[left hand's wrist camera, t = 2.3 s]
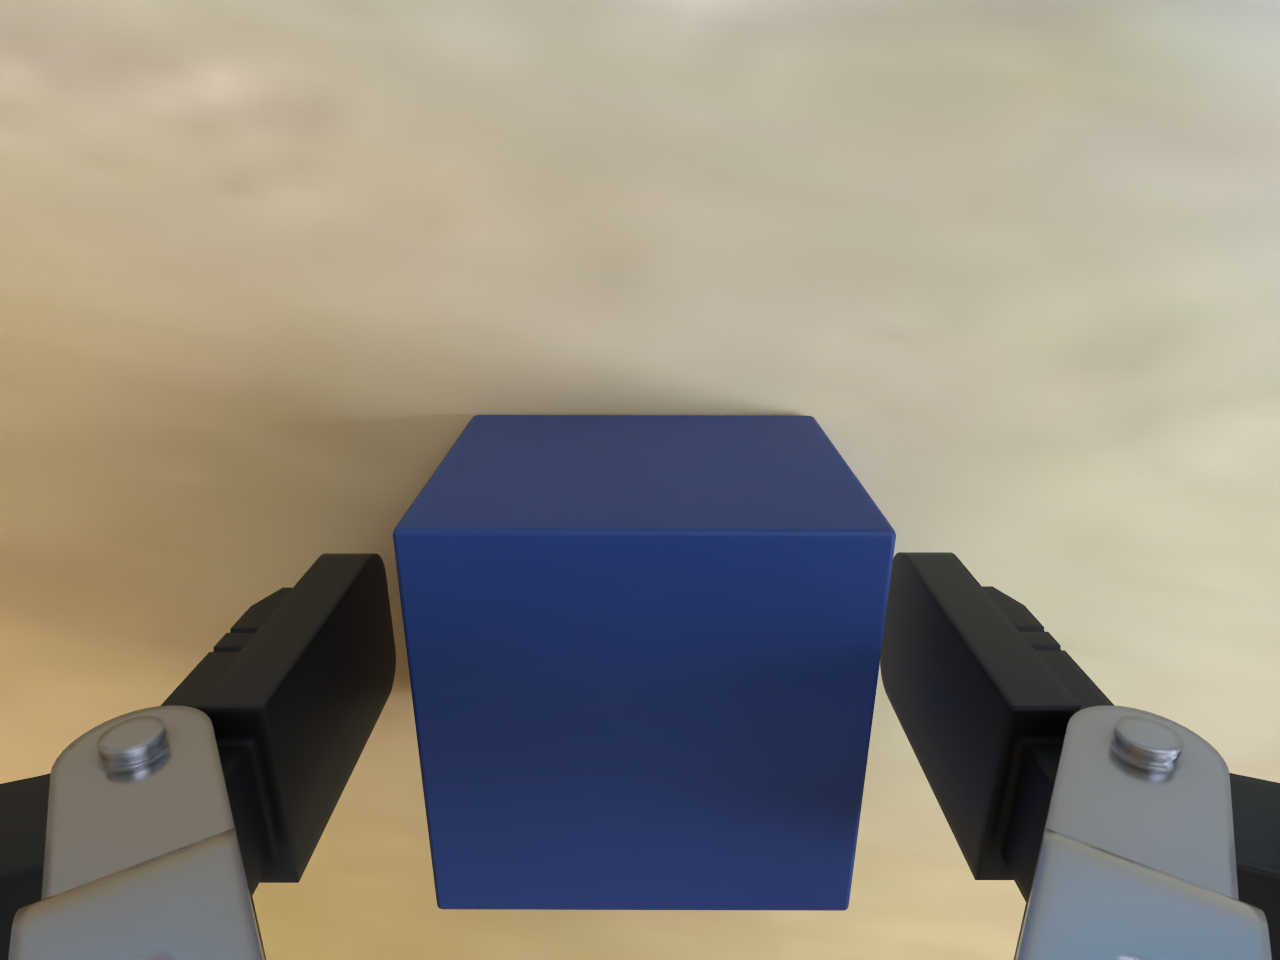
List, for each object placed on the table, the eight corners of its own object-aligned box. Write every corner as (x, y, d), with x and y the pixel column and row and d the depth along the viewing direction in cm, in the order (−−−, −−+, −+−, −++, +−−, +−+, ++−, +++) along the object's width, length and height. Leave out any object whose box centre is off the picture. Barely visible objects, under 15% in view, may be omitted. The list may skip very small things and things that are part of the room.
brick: (472, 413, 12) (389, 531, 8) (814, 414, 12) (898, 531, 8) (494, 702, 13) (435, 911, 10) (790, 703, 13) (849, 912, 9)
